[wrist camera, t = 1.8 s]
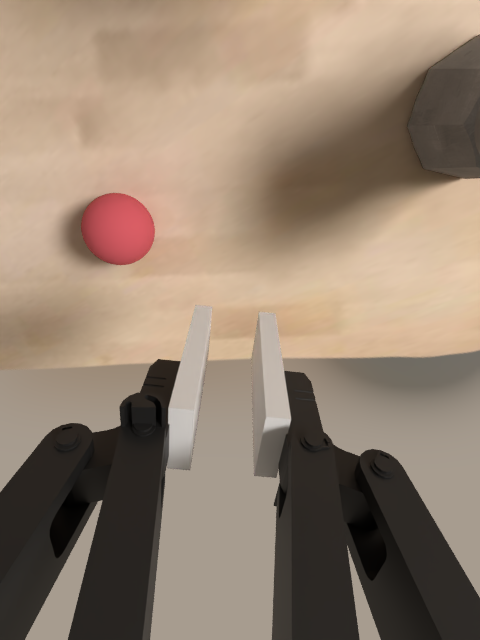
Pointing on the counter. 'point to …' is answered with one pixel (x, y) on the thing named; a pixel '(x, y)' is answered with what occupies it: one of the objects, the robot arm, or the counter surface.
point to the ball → (117, 229)
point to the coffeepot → (450, 115)
